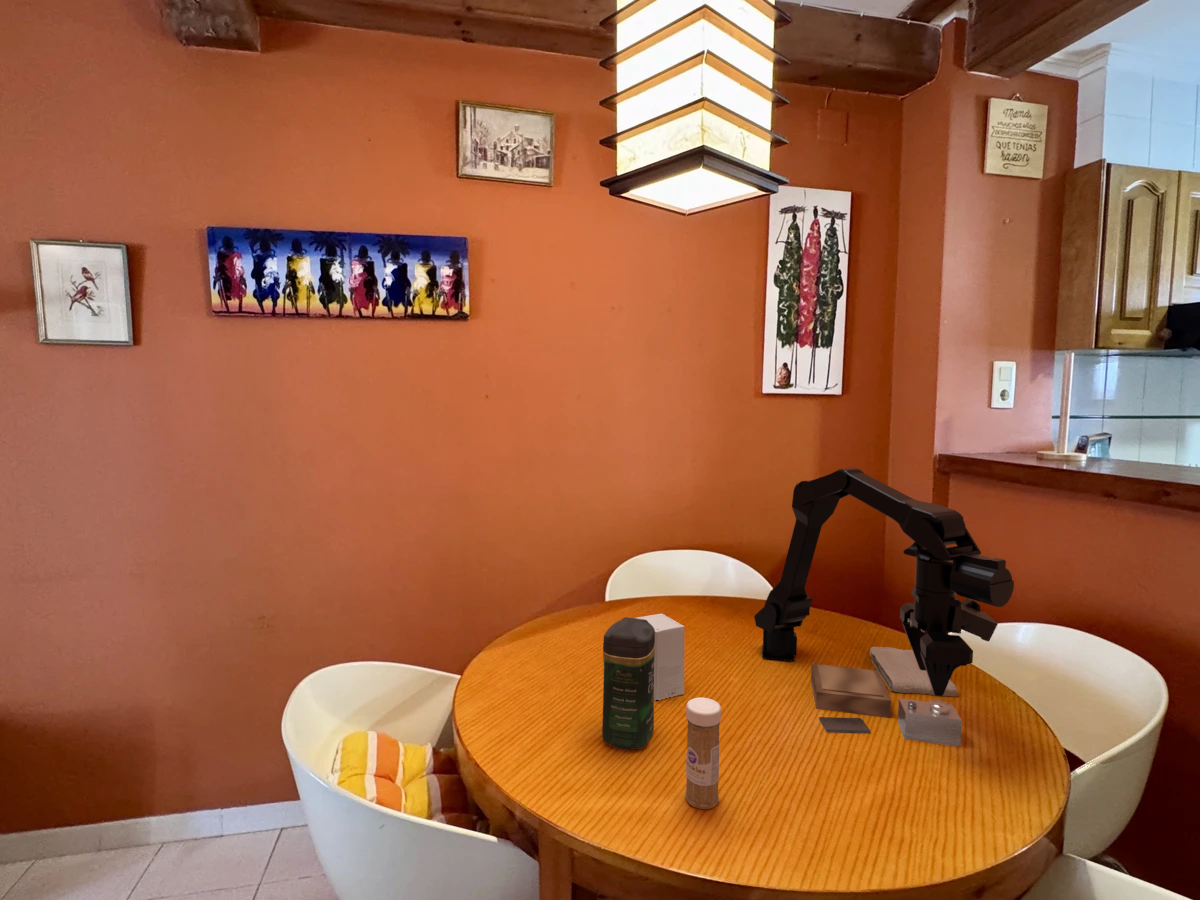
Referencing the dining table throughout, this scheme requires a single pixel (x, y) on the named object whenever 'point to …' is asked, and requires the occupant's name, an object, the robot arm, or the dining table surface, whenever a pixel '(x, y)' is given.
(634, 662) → the coffee jar
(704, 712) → the sprinkles bottle
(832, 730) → the cover plate
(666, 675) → the small box
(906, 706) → the housing
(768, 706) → the dining table surface
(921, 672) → the washcloth
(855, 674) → the tray
